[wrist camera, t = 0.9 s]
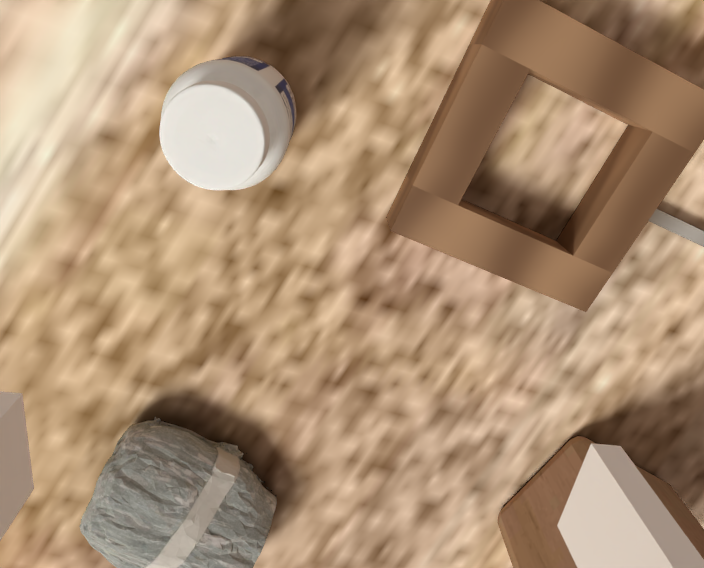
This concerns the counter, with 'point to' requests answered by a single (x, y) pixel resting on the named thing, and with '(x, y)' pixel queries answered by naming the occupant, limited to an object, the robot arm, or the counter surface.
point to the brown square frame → (609, 185)
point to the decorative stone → (177, 502)
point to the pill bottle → (227, 123)
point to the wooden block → (549, 502)
